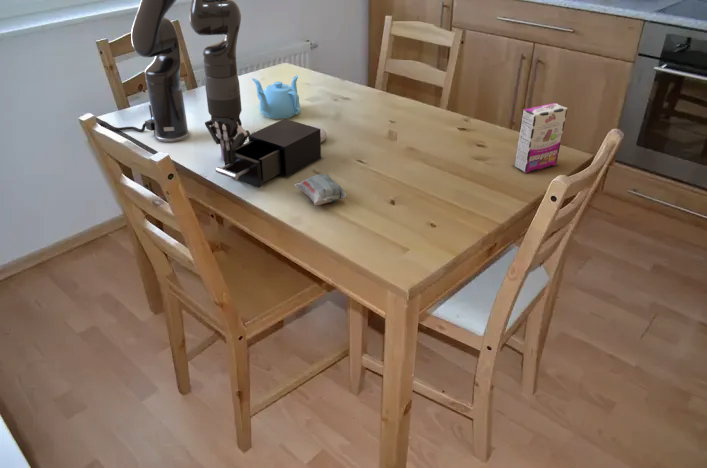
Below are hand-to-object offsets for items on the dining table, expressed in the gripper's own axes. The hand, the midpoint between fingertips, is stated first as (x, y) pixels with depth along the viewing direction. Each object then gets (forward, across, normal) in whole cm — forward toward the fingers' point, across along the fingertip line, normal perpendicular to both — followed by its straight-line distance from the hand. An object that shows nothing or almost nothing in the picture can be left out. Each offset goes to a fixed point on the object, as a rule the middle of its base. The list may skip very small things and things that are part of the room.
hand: (230, 162), depth 142 cm
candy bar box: (+7, -56, -58) cm, 81 cm away
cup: (+8, +13, -13) cm, 20 cm away
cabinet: (+7, 0, -20) cm, 21 cm away
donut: (+8, +4, -35) cm, 36 cm away
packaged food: (+7, -20, -9) cm, 23 cm away
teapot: (+8, +26, -46) cm, 53 cm away
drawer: (+7, 0, -7) cm, 10 cm away
